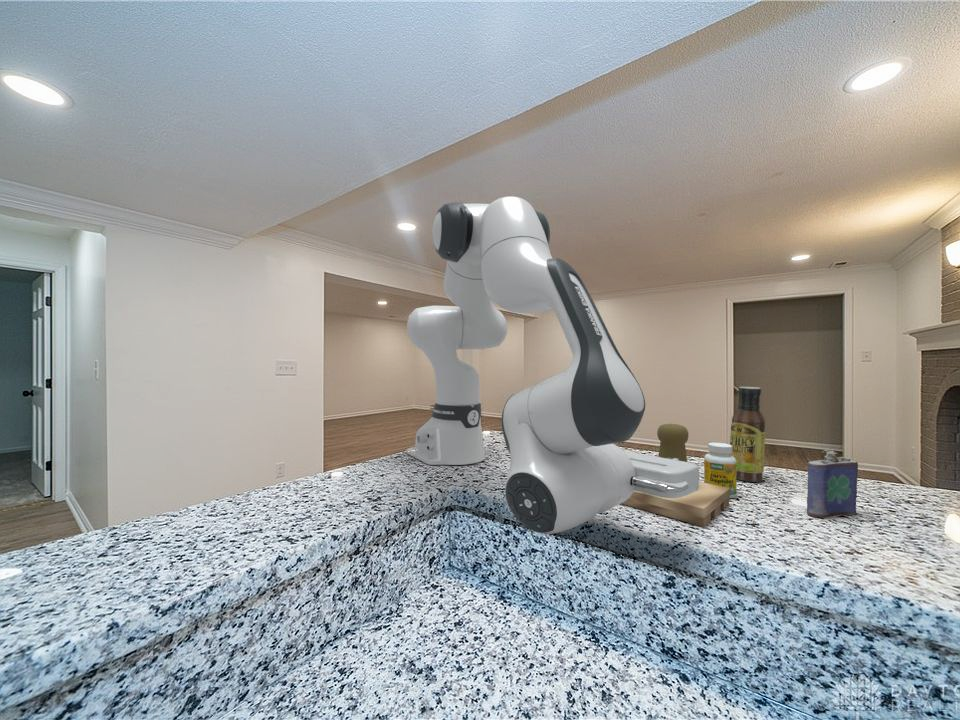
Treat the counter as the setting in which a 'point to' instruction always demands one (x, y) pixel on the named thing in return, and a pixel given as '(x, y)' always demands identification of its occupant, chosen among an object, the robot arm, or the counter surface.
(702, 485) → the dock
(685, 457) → the cork
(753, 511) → the counter surface
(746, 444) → the sauce bottle
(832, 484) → the flask
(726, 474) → the supplement bottle
